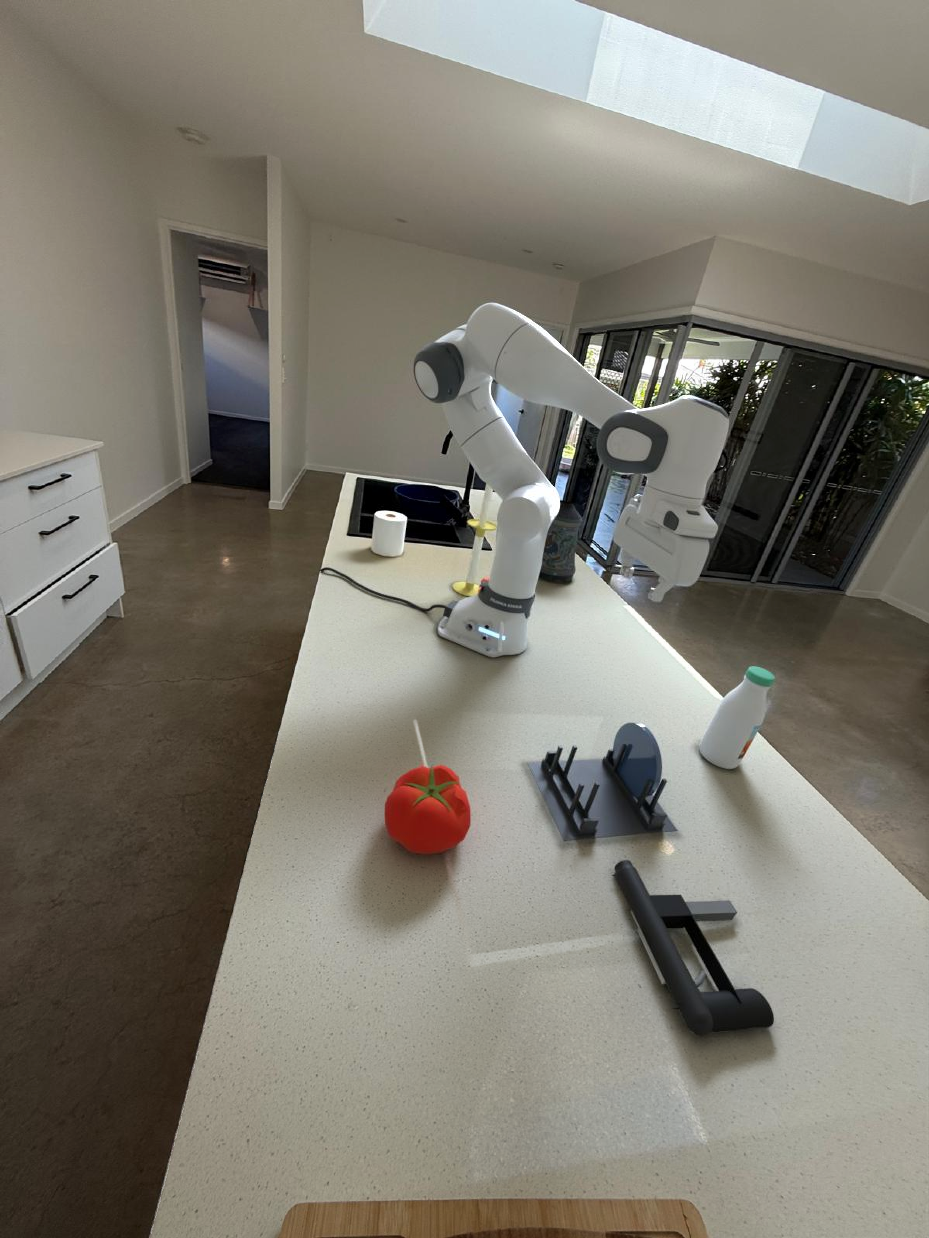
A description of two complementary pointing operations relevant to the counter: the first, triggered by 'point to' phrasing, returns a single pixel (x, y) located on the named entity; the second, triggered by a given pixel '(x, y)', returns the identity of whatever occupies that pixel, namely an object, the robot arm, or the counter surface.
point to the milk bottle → (737, 720)
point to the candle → (476, 546)
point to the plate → (638, 758)
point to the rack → (596, 798)
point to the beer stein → (561, 545)
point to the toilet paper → (388, 533)
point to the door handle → (695, 1007)
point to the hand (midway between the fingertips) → (638, 587)
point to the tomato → (428, 810)
